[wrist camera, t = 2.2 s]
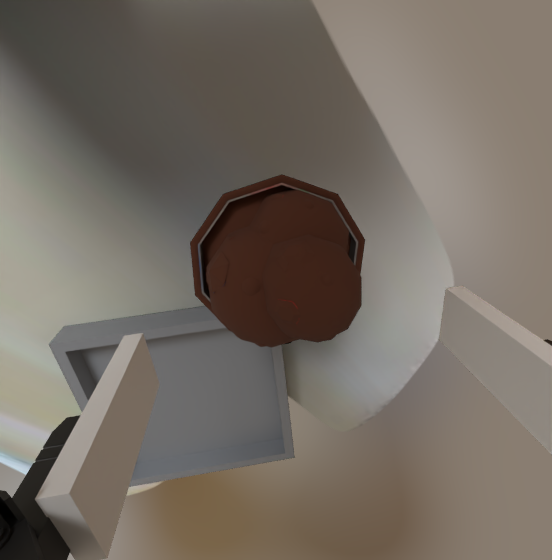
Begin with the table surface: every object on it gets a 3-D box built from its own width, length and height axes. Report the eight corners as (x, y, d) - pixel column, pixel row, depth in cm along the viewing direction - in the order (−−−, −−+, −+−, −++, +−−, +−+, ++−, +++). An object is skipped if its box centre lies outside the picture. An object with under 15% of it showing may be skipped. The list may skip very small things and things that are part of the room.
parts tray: (63, 326, 31) (48, 344, 28) (274, 295, 32) (277, 310, 29) (127, 465, 39) (119, 488, 37) (290, 437, 40) (294, 457, 38)
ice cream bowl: (279, 132, 26) (330, 136, 12) (347, 240, 30) (438, 330, 17) (176, 211, 27) (120, 292, 14) (255, 302, 32) (270, 430, 18)
